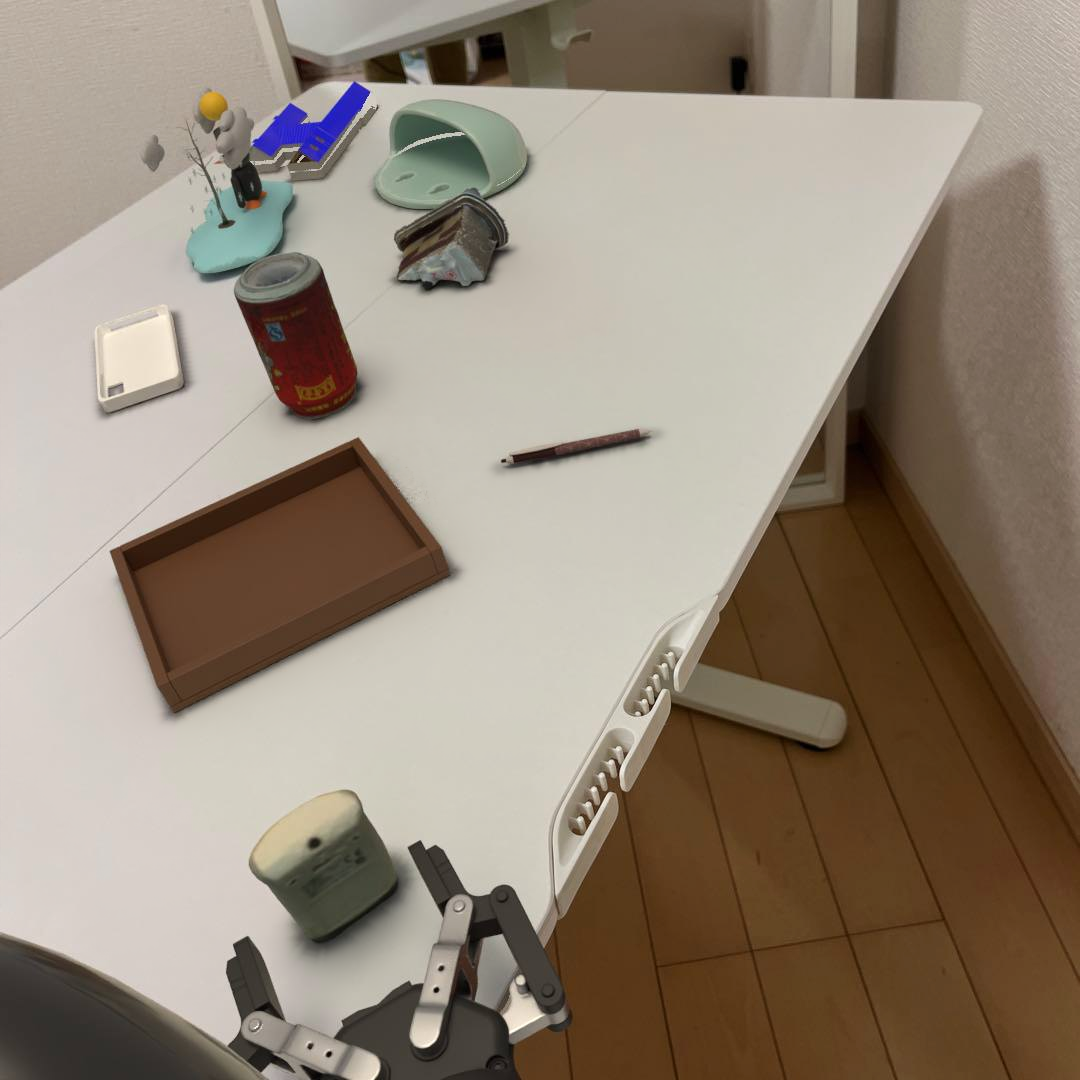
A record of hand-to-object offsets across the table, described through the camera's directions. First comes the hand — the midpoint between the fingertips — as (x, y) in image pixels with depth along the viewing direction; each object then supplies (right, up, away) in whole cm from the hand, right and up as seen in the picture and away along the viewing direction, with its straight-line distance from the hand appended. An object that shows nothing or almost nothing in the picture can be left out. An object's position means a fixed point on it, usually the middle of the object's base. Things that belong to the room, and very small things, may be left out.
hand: (333, 899), depth 50 cm
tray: (-9, +14, +27) cm, 31 cm away
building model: (-19, +65, +86) cm, 110 cm away
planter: (0, +57, +72) cm, 92 cm away
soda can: (-9, +28, +43) cm, 52 cm away
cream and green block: (0, -3, +7) cm, 7 cm away
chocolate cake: (0, +42, +55) cm, 70 cm away
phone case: (-28, +33, +53) cm, 69 cm away
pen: (+12, +23, +31) cm, 40 cm away
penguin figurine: (-23, +49, +70) cm, 89 cm away
